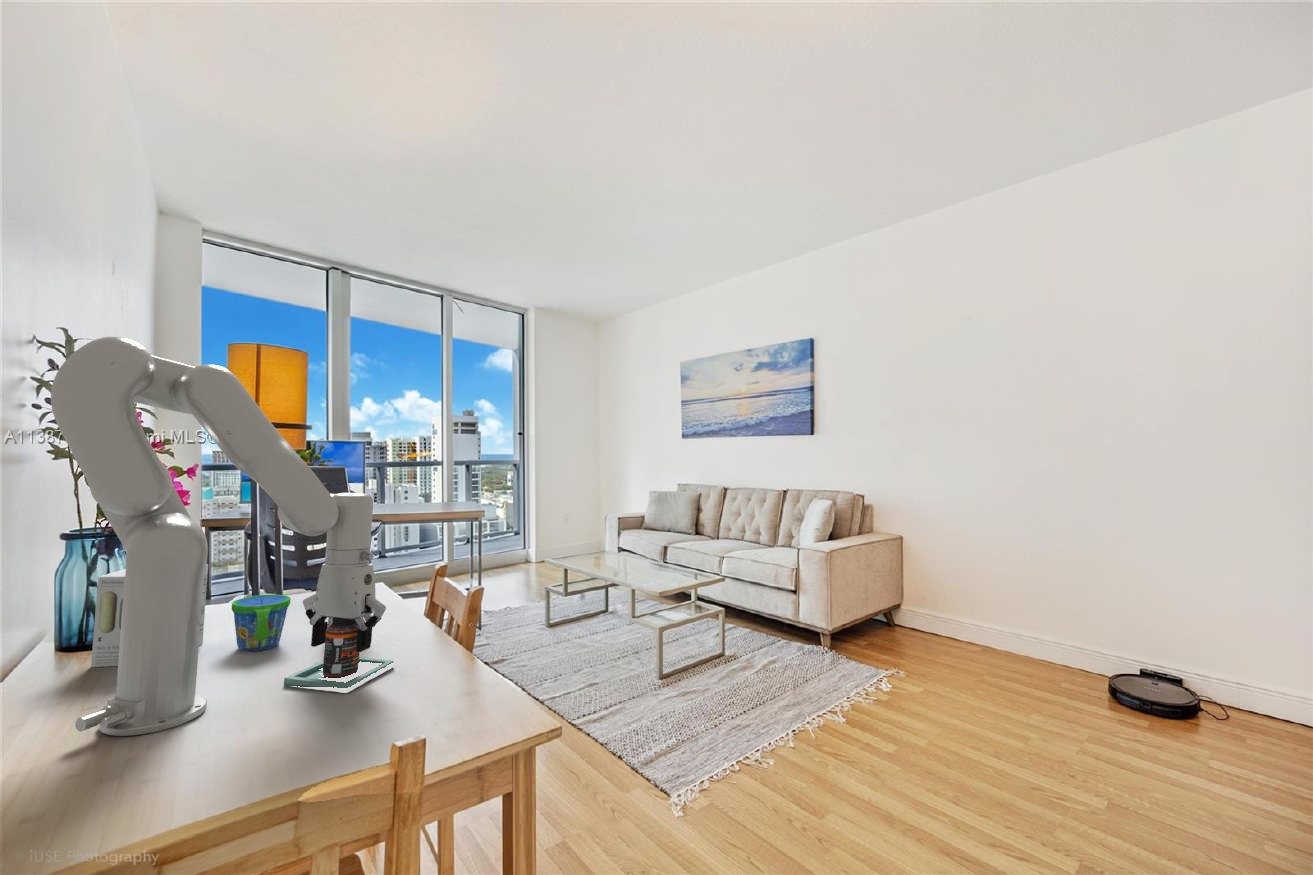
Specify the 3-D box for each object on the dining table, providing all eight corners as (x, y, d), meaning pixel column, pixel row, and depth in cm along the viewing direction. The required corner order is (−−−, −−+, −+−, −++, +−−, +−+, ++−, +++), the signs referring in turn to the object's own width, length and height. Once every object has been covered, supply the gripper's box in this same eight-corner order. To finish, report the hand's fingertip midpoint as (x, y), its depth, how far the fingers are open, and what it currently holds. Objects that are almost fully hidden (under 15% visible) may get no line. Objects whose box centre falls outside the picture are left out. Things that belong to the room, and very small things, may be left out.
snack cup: (286, 654, 118) (289, 605, 119) (223, 661, 113) (227, 610, 113) (289, 633, 132) (291, 590, 132) (233, 639, 126) (236, 594, 127)
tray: (346, 694, 99) (346, 685, 100) (283, 686, 102) (284, 678, 102) (393, 668, 112) (393, 660, 112) (336, 662, 115) (337, 654, 115)
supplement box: (87, 668, 107) (95, 576, 108) (131, 646, 120) (137, 564, 121) (170, 664, 111) (176, 575, 112) (204, 643, 124) (210, 563, 124)
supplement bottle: (342, 681, 103) (346, 619, 104) (314, 677, 105) (318, 616, 105) (365, 670, 109) (368, 611, 110) (339, 666, 111) (342, 608, 111)
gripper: (399, 557, 110) (393, 646, 109) (323, 551, 113) (316, 637, 112) (374, 563, 103) (367, 658, 102) (293, 556, 106) (285, 648, 105)
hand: (340, 647), depth 107 cm, fingers open, 9 cm apart
